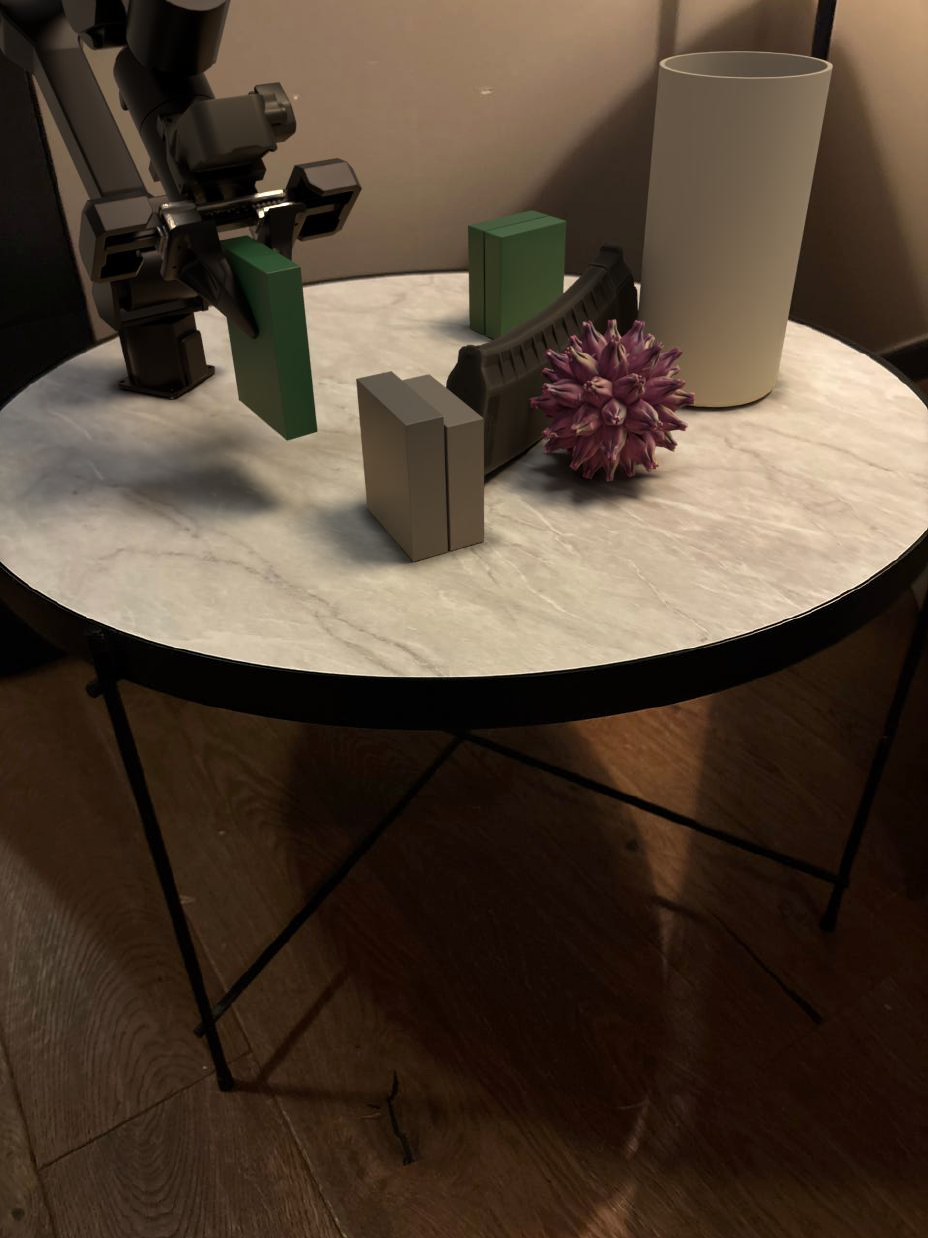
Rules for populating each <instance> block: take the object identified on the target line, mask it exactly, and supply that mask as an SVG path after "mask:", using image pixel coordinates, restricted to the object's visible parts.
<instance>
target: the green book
mask: <svg viewBox="0 0 928 1238" xmlns="http://www.w3.org/2000/svg"><path fill="white" fill-rule="evenodd" d="M220 243H221V247H222V251H223V254H224V256H225V258H226V260H227V262H228V264H229V266H230V268H231V270H232V272H233V274H234V276H235V278H236V280H237V282H238V284H239V286H240V287H241V289H242V291H243V293H244V295H245V297H246V299H247V301H248V303H249V305H250V307H251V309H252V312H253V315H254V318H255V320H256V323H257V326H258V329H259V335H258V337H257V338H256V339H250V338H249V337H248V336H247V335H246V334H245V333H243V332H242V331H241V330H240V329H239V328H238V327H237V326H236V325H234V324H233V323H232V322H231V321H230V320H229V319H228V318H226V324H227V331H228V337H229V344H230V349H231V357H232V363H233V370H234V377H235V383H236V391H237V397H238V401H239V402H241V403H242V404H243V405H244V406H245V407H246V408H248V409H249V410H250V411H251V412H253V414H254V415H256V416H257V417H258V418H259V419H260V420H261V421H263V422H264V423H266V425H268V426H269V427H270V428H271V429H273V430H274V432H276V433H277V435H279V436H280V437H282V438H283V439H284V440H285V441H287V442H289V441H291V440H295V439H298V438H302V437H305V436H308V435H312V434H315V433H318V432H319V431H318V423H317V412H316V403H315V402H316V401H315V393H314V383H313V373H312V363H311V355H310V344H309V335H308V334H309V333H308V325H307V316H306V306H305V296H304V287H303V286H304V285H303V276H302V268H301V265H299V264H297V262H294V261H293V260H292V261H291V260H289V259H287V258H285V257H284V256H282V255H280V254H279V253H277V252H275V251H273V250H272V249H270V248H268V247H267V246H265V245H263V244H262V243H260V242H258V241H256V240H255V239H253V237H252V236H249V235H247V234H246V235H241V236H236V237H231V238H224V239H220Z"/></svg>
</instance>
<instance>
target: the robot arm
mask: <svg viewBox="0 0 928 1238" xmlns="http://www.w3.org/2000/svg"><path fill="white" fill-rule="evenodd" d="M230 4H231V0H0V50H1V51H2V54H3V56H5V57H6V58H8V60H10V61H11V62H14V63H15V64H16V65H18V66H19V67H21V69H23V70H25V71H26V72H28V73H29V74H31V75H32V76H33V77H34V79H35V81H36V83H37V85H38V87H39V90H40V92H41V94H42V96H43V99H44V101H45V103H46V106H47V108H48V110H49V112H50V114H51V117H52V119H53V121H54V123H55V126H56V127H57V129H58V132H59V134H60V136H61V139H62V141H63V143H64V145H65V147H66V150H67V152H68V154H69V156H70V158H71V161H72V163H73V165H74V167H75V170H76V172H77V175H78V176H79V178H80V181H81V183H82V185H83V188H84V190H85V192H86V194H87V196H88V199H87V200H86V202H85V203H84V206H83V208H82V210H81V214H80V224H79V235H78V245H77V246H78V252H79V255H80V259H81V262H82V264H83V266H84V269H85V271H86V273H87V275H88V277H89V280H90V282H92V285H91V296H92V298H93V302H94V305H95V309H96V311H97V314H98V317H99V318H100V319H101V320H102V321H103V322H104V323H106V324H107V325H108V326H109V327H110V328H111V329H112V330H114V331H115V332H117V334H118V339H119V342H120V343H119V344H120V347H121V351H122V355H123V356H122V357H123V360H124V365H125V369H126V373H127V375H126V376H124V377H122V378H121V379H119V380H117V382H116V385H117V388H119V389H124V390H128V391H134V392H138V393H139V392H140V393H145V394H150V395H156V396H161V397H166V398H178V397H179V396H181V395H183V394H184V393H186V392H187V391H189V390H191V389H192V388H193V387H195V386H196V385H198V384H199V383H201V382H202V381H204V380H205V379H207V378H209V377H211V376H212V375H213V374H215V373H216V366H215V365H212V364H207V359H206V353H205V348H204V343H203V336H202V332H201V330H200V329H198V327H197V322H196V318H195V313H199V312H202V313H203V312H208V311H209V304H210V305H211V306H213V308H215V310H217V311H218V312H219V313H221V314H222V315H223V316H224V317H225V318H226V319H227V318H228V319H229V320H230V321H231V322H232V323H233V324H234V325H236V326H237V327H238V328H239V329H240V330H241V331H242V332H243V333H245V334H246V335H247V336H248V337H249V338H250V339H256V338H257V337H258V335H259V329H258V326H257V323H256V320H255V318H254V315H253V312H252V309H251V307H250V305H249V303H248V301H247V299H246V297H245V295H244V293H243V291H242V289H241V287H240V286H239V284H238V282H237V280H236V278H235V276H234V274H233V272H232V270H231V268H230V266H229V264H228V262H227V260H226V258H225V256H224V254H223V251H222V247H221V243H220V240H221V239H220V235H219V234H222V233H226V232H230V231H237V230H242V229H247V230H248V231H249V232H250V234H251V238H253V239H255V240H256V241H258V242H260V243H262V244H263V245H265V246H267V247H268V248H270V249H272V250H273V251H275V252H277V253H279V254H280V255H282V256H284V257H285V258H287V259H289V260H291V261H292V262H293V249H294V246H295V243H296V242H297V240H298V241H299V242H301V243H302V242H303V243H304V242H307V241H312V240H318V239H322V238H327V237H332V236H334V235H336V234H337V233H339V232H340V231H342V230H343V227H344V225H345V224H346V222H347V220H348V218H349V216H350V215H351V211H352V210H353V208H354V206H355V204H356V202H357V199H358V198H359V196H360V194H361V192H362V190H363V187H362V185H361V183H360V181H359V178H358V176H357V175H356V172H355V170H354V168H353V167H352V165H351V164H350V163H349V162H348V161H346V160H344V159H342V158H340V157H335V158H328V159H323V160H316V161H311V162H310V161H309V162H304V163H299V164H294V165H293V168H292V171H291V173H290V176H289V178H288V180H287V183H286V186H285V188H279V189H275V190H269V191H263V192H259V191H258V188H257V186H256V183H257V182H260V181H263V180H264V178H265V175H266V172H267V167H266V165H265V162H264V161H263V158H264V157H266V155H268V154H269V153H275V152H276V151H277V150H278V147H279V146H278V143H285V142H287V141H288V140H289V139H290V138H291V137H292V136H294V135H295V133H296V132H297V119H296V116H295V112H294V109H293V104H292V103H291V101H290V99H289V97H288V95H287V93H286V92H285V90H284V88H283V86H282V84H281V83H280V81H277V82H268V83H261V84H256V85H254V87H253V90H251V91H249V92H248V93H247V94H243V95H236V96H235V95H234V96H227V97H220V98H219V97H218V98H216V96H215V94H214V92H213V89H212V87H211V84H210V82H209V81H208V78H207V76H206V74H205V72H207V71H208V70H209V69H211V68H212V67H213V65H215V64H216V63H217V60H218V56H219V52H220V46H221V43H222V38H223V34H224V30H225V26H226V21H227V17H228V13H229V8H230ZM84 44H85V45H86V46H87V47H88V48H89V49H90V50H92V51H103V50H113V49H120V50H119V52H118V53H117V55H116V57H115V59H114V63H113V67H112V71H113V73H112V74H113V78H114V82H115V83H116V85H117V88H118V99H119V104H120V107H121V109H122V111H125V112H127V111H128V112H129V115H130V117H131V119H132V121H133V124H134V126H135V128H136V130H137V133H138V134H139V137H140V140H141V142H142V144H143V146H144V148H145V150H146V152H147V155H148V157H149V164H148V172H149V174H150V176H151V179H152V180H153V183H158V182H160V184H161V186H162V188H163V190H164V193H165V194H163V195H157V196H155V195H153V194H152V193H150V192H149V191H148V189H147V186H146V185H145V183H144V181H143V178H142V176H141V173H140V172H139V170H138V167H137V166H136V165H137V164H136V163H135V161H134V159H133V155H131V152H130V150H129V148H128V146H127V144H126V141H125V139H124V136H123V134H122V132H121V130H120V128H119V126H118V123H117V121H116V119H115V117H114V114H113V113H112V111H111V108H110V106H109V104H108V101H107V99H106V97H105V96H104V93H103V91H102V88H101V86H100V84H99V82H98V80H97V78H96V75H95V74H94V71H93V68H92V66H91V65H90V62H89V60H88V58H87V56H86V53H85V51H84Z"/></svg>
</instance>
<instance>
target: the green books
mask: <svg viewBox="0 0 928 1238" xmlns="http://www.w3.org/2000/svg"><path fill="white" fill-rule="evenodd" d="M566 237H567V220H564V219H561V218H559V217H555V216H553V215H548V214H545V213H542V212H539V211H537V210H534V209H533V210H531V209H530V210H528V211H524V212H518V213H515V214H510V215H506V216H502V217H499V218H493V219H490V220H485V221H480V222H477V223H473V224H468V225H467V245H468V246H467V247H468V248H467V250H468V252H467V253H468V258H467V259H468V312H469V313H468V314H469V315H468V316H469V318H468V319H469V323H468V324H469V329H471V330H472V331H475V332H476V333H479V334H481V335H483V336H486V337H487V338H490V339H492V340H495V339H497V338H499V337H501V336H503V335H505V334H507V333H508V332H510V331H511V330H513V329H514V328H516V327H518V326H519V325H521V324H523V323H524V322H526V321H528V320H529V319H531V318H533V317H534V316H536V315H537V314H539V313H540V312H541V311H543V310H544V309H545V308H547V307H548V306H549V305H550V304H551V303H553V302H554V301H555V300H556V299H557V298H559V297H560V296H561V295H562V294H563V293H564V287H565V285H564V284H565V261H566V239H567V238H566Z"/></svg>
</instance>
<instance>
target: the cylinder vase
mask: <svg viewBox="0 0 928 1238" xmlns="http://www.w3.org/2000/svg"><path fill="white" fill-rule="evenodd" d="M658 67H659V68H658V78H657V88H656V89H657V90H656V101H655V114H654V125H653V126H654V127H653V136H652V148H651V161H650V171H649V182H648V194H647V205H646V216H645V217H646V218H645V229H644V242H643V250H642V251H643V252H642V263H641V273H640V286H639V296H638V319H637V321H640V322H642V321H645V326H644V329H643V338H644V337H645V336H646V335H647V334H650V335H653V337H654V338H655V339H654V341H653V343H652V346H654V345H655V344H656V343H657V342H661V343H662V345H664V348H663V349H662V350H661V352H660V353H665V352H669V351H671V350H672V349H674V348H676V347H679V351H681V350H683V353H682V355H681V356H680V357H679V358H678V359H677V360H676V361H675V362H674V364H673V365H672V367H674V366H677V365H678V366H679V368H680V372H679V373H678V374H676V375H675V376H674V377H673V379H674V380H676V379H682V380H683V381H685V383H686V384H685V385H684V387H683V388H681V389H680V390H682V391H684V392H689V393H695V396H694V398H695V401H694V402H695V403H694V404H690V405H689V406H691V407H697V408H698V407H699V408H728V407H736V406H741V405H746V404H749V403H752V402H755V401H757V400H760V399H761V398H763V397H765V396H767V395H768V394H769V393H770V392H772V390H773V389H774V387H775V386H776V384H777V382H778V377H779V372H780V365H781V360H782V354H783V348H784V344H785V338H786V332H787V328H788V327H787V326H788V320H789V315H790V309H791V304H792V298H793V292H794V286H795V282H796V275H797V270H798V266H799V265H798V264H799V259H800V253H801V247H802V241H803V236H804V231H805V225H806V219H807V214H808V207H809V204H810V203H809V201H810V196H811V190H812V184H813V180H814V174H815V170H816V169H815V168H816V164H817V157H818V151H819V147H820V140H821V135H822V131H823V124H824V117H825V114H826V113H825V111H826V106H827V100H828V96H829V91H830V90H829V89H830V84H831V83H830V82H831V78H832V73H833V67H834V66H833V64H832V63H831V62H830V61H827V60H824V59H822V58H821V59H820V58H819V57H818V58H817V57H812V56H809V55H808V56H806V55H802V54H795V53H794V54H792V53H785V52H784V53H782V52H769V51H768V52H767V51H742V50H741V51H739V50H738V51H708V52H706V51H705V52H694V53H686V54H685V53H684V54H680V55H674V56H669V57H667V58H664V59H662V60H661V61H660V62H659V66H658Z"/></svg>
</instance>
